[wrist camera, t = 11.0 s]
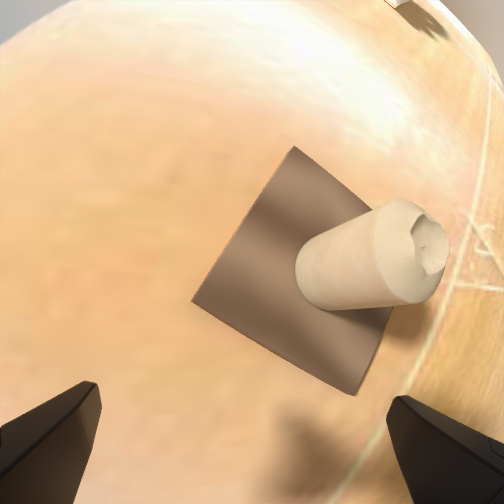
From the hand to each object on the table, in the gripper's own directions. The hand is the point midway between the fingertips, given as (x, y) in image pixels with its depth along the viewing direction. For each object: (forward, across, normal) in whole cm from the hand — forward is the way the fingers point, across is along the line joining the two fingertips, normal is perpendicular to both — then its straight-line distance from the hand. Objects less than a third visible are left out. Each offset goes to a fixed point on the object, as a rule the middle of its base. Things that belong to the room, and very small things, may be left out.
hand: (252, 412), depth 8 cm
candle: (+15, -6, 0) cm, 16 cm away
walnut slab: (+16, -6, 0) cm, 17 cm away
